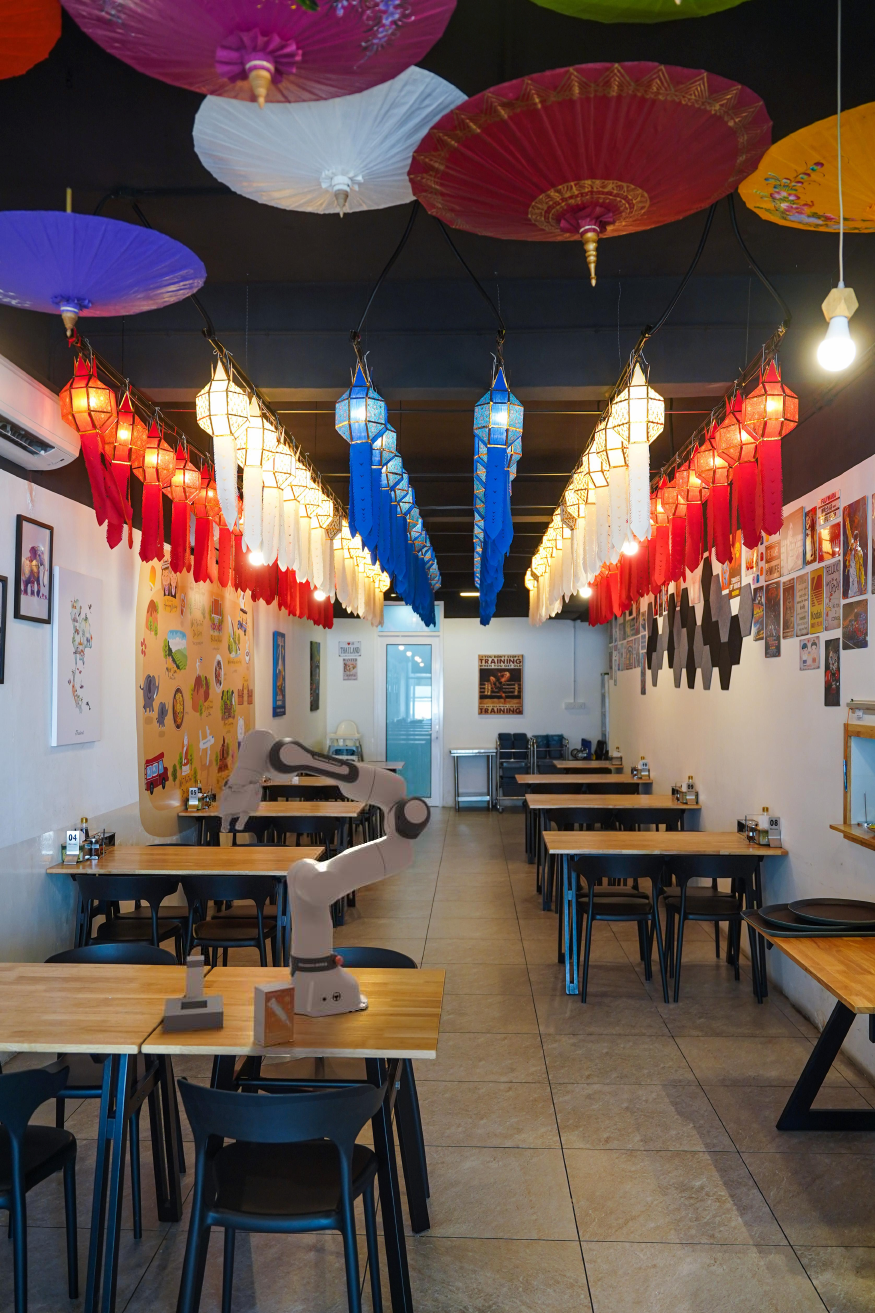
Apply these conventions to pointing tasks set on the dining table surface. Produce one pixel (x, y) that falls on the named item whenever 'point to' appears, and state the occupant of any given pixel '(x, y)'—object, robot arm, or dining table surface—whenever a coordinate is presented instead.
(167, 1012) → the socket block
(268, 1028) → the small box
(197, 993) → the plug
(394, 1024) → the dining table surface
